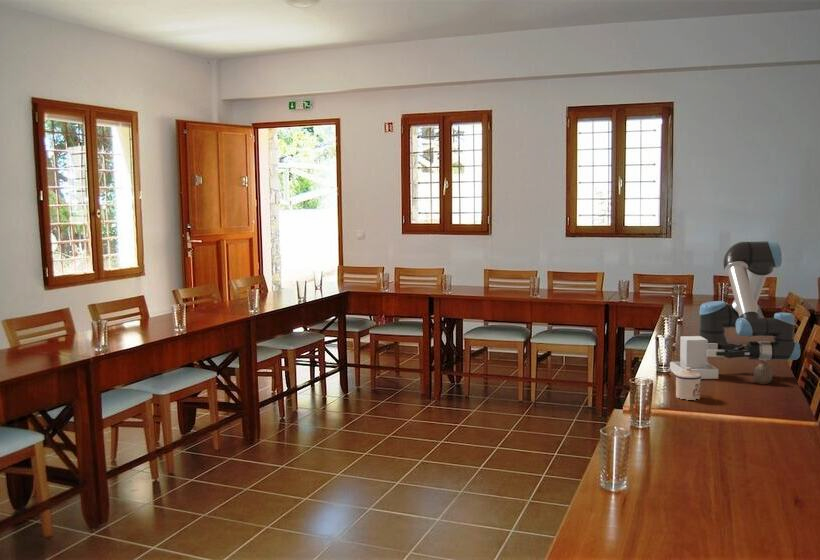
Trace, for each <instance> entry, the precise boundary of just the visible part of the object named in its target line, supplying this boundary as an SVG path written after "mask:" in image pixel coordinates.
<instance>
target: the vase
mask: <svg viewBox="0 0 820 560" xmlns="http://www.w3.org/2000/svg"><path fill="white" fill-rule="evenodd" d="M753 378H754V381H755V382H756V383H757V384H759V385H767V384H770V383H771V381H772V380H773V369H772V368H771V366H770V365H769V364H768V361H765V360H760V361H759V363H758V364H757V365H756V366H755V367H754V369H753Z"/></svg>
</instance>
